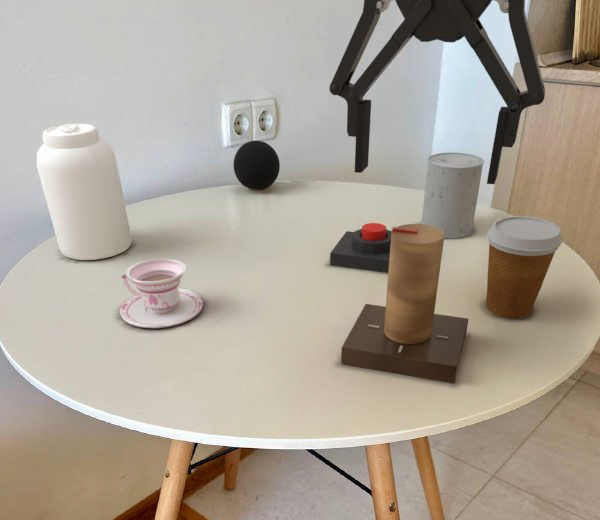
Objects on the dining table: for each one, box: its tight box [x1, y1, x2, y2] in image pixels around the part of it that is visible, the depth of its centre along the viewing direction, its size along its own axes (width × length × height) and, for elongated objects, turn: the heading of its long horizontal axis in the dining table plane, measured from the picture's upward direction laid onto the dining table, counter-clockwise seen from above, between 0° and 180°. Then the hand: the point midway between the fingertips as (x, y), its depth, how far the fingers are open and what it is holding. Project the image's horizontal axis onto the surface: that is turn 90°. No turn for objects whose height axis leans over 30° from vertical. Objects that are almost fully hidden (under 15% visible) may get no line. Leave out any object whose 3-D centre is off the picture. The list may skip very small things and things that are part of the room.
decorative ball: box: [232, 140, 281, 191], centre depth 128 cm, size 10×10×10 cm
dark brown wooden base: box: [340, 303, 470, 384], centre depth 76 cm, size 14×12×3 cm
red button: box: [361, 222, 387, 241], centre depth 97 cm, size 4×4×2 cm
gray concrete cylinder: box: [420, 152, 485, 239], centre depth 106 cm, size 10×10×12 cm
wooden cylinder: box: [384, 223, 445, 344], centre depth 71 cm, size 6×6×13 cm
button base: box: [329, 228, 392, 274], centre depth 99 cm, size 12×10×4 cm
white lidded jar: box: [36, 123, 133, 261], centre depth 100 cm, size 12×12×20 cm
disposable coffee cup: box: [485, 215, 563, 320], centre depth 81 cm, size 10×10×12 cm
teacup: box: [119, 258, 204, 329], centre depth 85 cm, size 12×12×6 cm
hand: (424, 174), depth 62 cm, fingers open, 13 cm apart
